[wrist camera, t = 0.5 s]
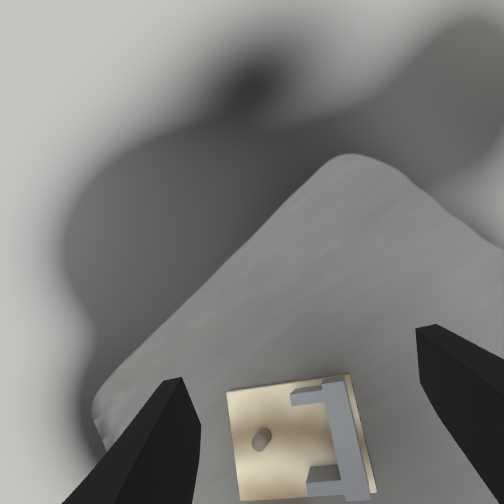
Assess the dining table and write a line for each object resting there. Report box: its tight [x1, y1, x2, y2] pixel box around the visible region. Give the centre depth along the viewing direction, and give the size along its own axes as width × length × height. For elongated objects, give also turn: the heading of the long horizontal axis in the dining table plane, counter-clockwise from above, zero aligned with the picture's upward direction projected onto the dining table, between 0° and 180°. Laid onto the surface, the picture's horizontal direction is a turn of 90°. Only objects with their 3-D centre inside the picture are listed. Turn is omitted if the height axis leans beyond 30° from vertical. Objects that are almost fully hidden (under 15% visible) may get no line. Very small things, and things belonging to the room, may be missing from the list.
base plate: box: [227, 374, 377, 501], centre depth 31 cm, size 10×13×4 cm
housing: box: [290, 376, 371, 502], centre depth 29 cm, size 9×5×4 cm, turn 10°
